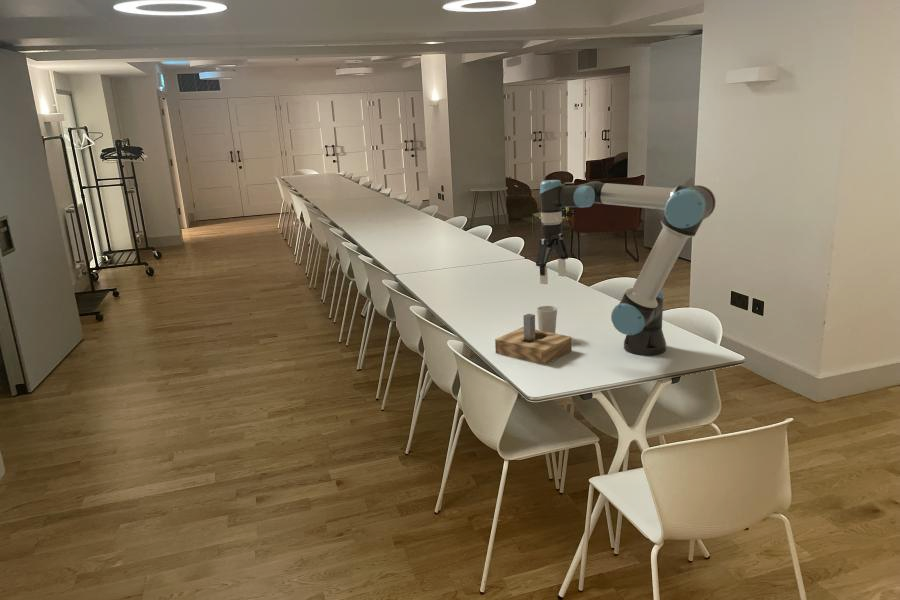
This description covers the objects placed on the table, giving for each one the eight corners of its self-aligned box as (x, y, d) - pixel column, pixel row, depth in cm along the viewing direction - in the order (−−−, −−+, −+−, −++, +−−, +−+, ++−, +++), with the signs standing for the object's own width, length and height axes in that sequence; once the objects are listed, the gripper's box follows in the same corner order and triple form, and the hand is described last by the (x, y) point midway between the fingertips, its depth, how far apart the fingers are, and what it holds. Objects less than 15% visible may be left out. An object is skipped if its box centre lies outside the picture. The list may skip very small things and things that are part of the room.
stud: (539, 353, 246) (538, 314, 242) (531, 357, 243) (531, 318, 239) (528, 350, 250) (527, 312, 246) (520, 354, 246) (519, 315, 242)
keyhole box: (571, 350, 247) (571, 336, 246) (545, 365, 234) (544, 350, 233) (523, 340, 261) (523, 326, 260) (495, 353, 248) (495, 339, 247)
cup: (542, 341, 259) (541, 312, 255) (533, 335, 266) (533, 307, 263) (560, 339, 261) (560, 309, 257) (552, 333, 268) (552, 304, 265)
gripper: (559, 218, 253) (560, 272, 258) (524, 228, 234) (527, 286, 239) (576, 218, 248) (578, 273, 253) (543, 228, 229) (545, 288, 235)
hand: (553, 280), depth 246 cm, fingers open, 13 cm apart
